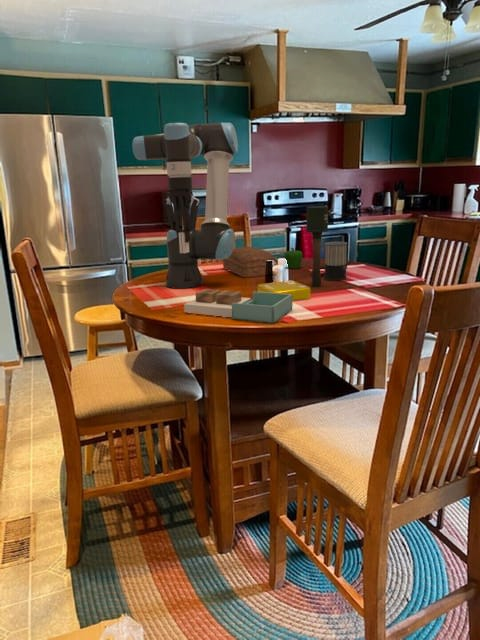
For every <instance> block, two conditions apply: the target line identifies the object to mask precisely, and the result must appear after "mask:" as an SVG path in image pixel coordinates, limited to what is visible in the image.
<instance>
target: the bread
mask: <svg viewBox="0 0 480 640" xmlns="http://www.w3.org/2000/svg"><path fill="white" fill-rule="evenodd" d="M222 260H223V262H222V264H223V266H222V267H223V268H224V269H225V268H226V269H228V270H230V271H231V273H233V274H236V275H238V276H239V277H241V278H243V277H250V278H257V277H258V276H259V277H266V276H265V264H266V260H274V261H276V257H274V255H273V254H272V253H270V252H269V251H267V250H264V249H261V248H259V247H254V246H241V247H236V248H233V251H232V254H231V256H230V257H229V258H227V259H222ZM276 262H277V261H276ZM226 269H225V270H226ZM228 270H227V271H228ZM230 271H229V272H230ZM259 277H258V278H259Z"/></svg>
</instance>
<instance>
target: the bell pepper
mask: <svg viewBox="0 0 480 640" xmlns="http://www.w3.org/2000/svg"><path fill="white" fill-rule="evenodd" d="M284 252H285V253H284V260H285V259H286V260H287V264H288V267H287V268H288V269H291V270H295V269H299V268H300V267H301V266H302V262H303V252H302V251H301V250H295V247H292V246H291V247H290V250H287V251H284Z"/></svg>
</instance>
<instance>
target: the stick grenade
mask: <svg viewBox="0 0 480 640" xmlns="http://www.w3.org/2000/svg"><path fill="white" fill-rule="evenodd" d="M305 232H306V233H311V235H312V251H313V253H312V254H313V257H312V258H313V260H312V261H313V264H312V265H313V266H312V268H313V269H312V270H313V275H312V274H311V275H312V277H311V286H312V287H313V288H314V287H316V288H317V287H319V288H320V287H322V286H321V285H322V276H321V270H320V266H321V249H322V239H323V238H322V235H323V233H327V232H330V229H329V206H326V205H318V206H317V205H316V206H307V207H306V229H305Z"/></svg>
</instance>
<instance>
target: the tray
mask: <svg viewBox="0 0 480 640" xmlns="http://www.w3.org/2000/svg"><path fill="white" fill-rule="evenodd" d="M291 311H293V301H292V294H278V293H265V292H258V291H252V299H251V301H249V302H247V303H246V304H242V303H232V318H231V319H232V320H235V319H240V320H239V321H245V320H249V321H248V322H255V321H258V322H257V323H265V322H267V323H266V324H275V323H276V322H277V320H278V321H279V320H280V319H282V318H283V317H285V316H286V315H287V314H289V313H290V312H291Z"/></svg>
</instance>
